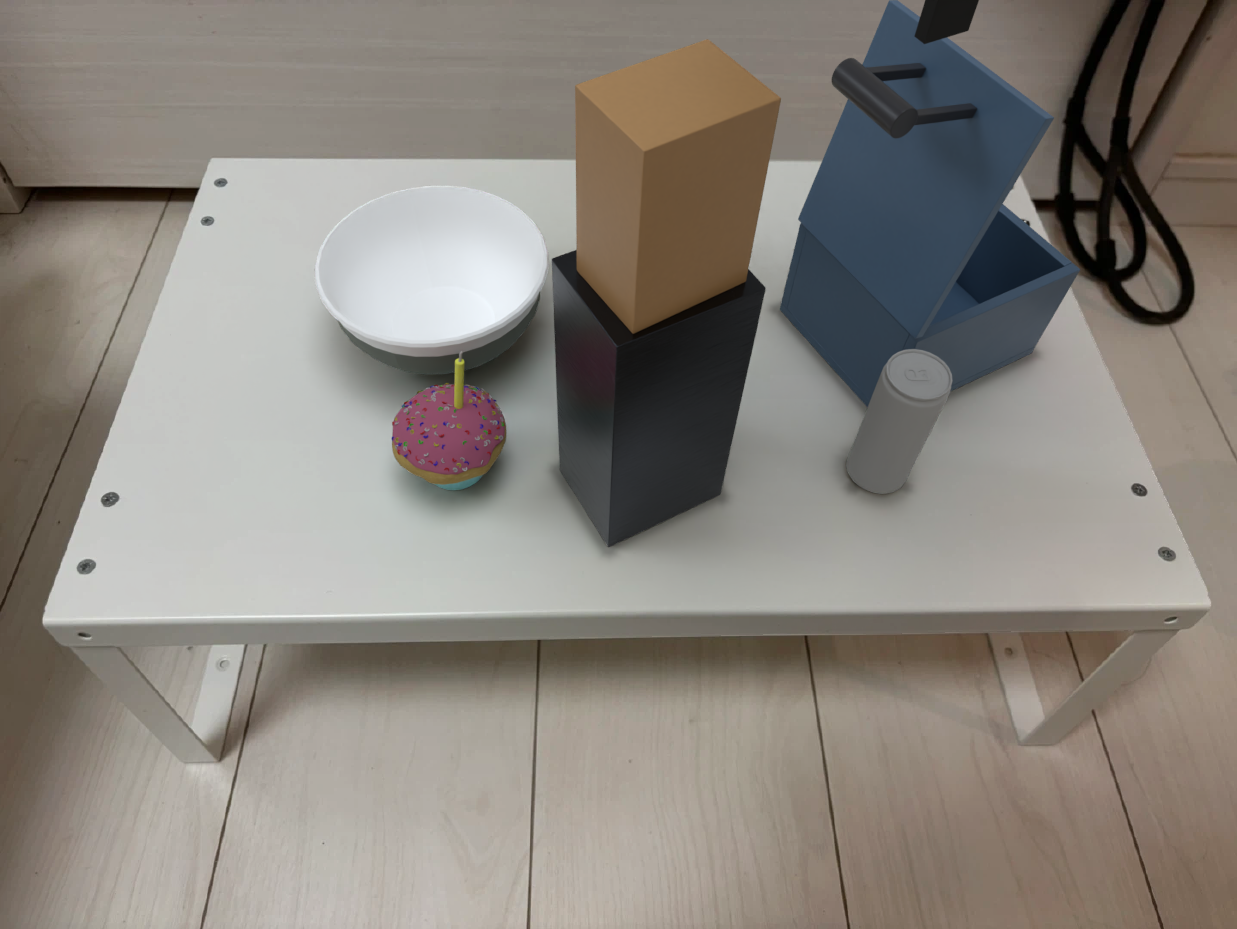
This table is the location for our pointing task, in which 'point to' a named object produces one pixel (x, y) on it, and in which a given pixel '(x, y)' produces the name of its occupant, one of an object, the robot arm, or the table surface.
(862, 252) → the lid
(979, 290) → the chest
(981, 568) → the table surface
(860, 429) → the beverage can
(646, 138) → the package
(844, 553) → the table surface
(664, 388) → the stand
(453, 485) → the cupcake
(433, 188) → the bowl
